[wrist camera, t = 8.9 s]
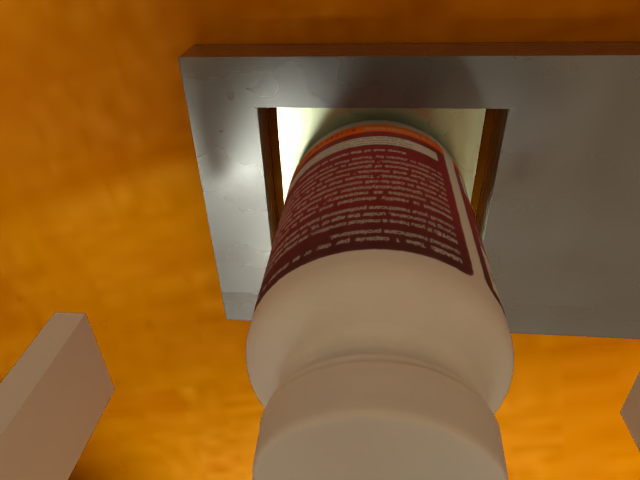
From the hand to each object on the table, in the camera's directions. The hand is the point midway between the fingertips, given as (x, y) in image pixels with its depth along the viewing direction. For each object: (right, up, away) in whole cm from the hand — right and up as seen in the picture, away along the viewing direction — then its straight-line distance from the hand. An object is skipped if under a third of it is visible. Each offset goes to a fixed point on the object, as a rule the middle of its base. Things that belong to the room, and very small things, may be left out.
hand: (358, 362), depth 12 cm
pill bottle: (+1, +5, +6) cm, 8 cm away
